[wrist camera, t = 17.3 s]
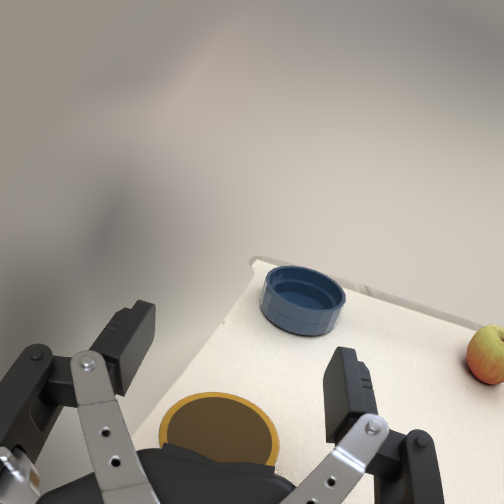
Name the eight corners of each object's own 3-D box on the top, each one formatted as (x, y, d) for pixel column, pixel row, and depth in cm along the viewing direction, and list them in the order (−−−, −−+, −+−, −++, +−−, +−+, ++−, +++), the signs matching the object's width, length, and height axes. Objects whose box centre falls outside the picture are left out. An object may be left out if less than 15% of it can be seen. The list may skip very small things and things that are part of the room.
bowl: (262, 335, 39) (271, 306, 37) (256, 286, 49) (262, 260, 48) (344, 341, 41) (356, 315, 39) (324, 294, 51) (332, 271, 49)
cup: (160, 527, 15) (151, 481, 10) (166, 463, 21) (166, 384, 16) (243, 533, 16) (286, 490, 11) (240, 470, 21) (273, 395, 17)
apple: (462, 385, 35) (492, 342, 31) (455, 346, 43) (478, 307, 40) (506, 398, 32) (536, 359, 29) (496, 361, 40) (519, 324, 37)
